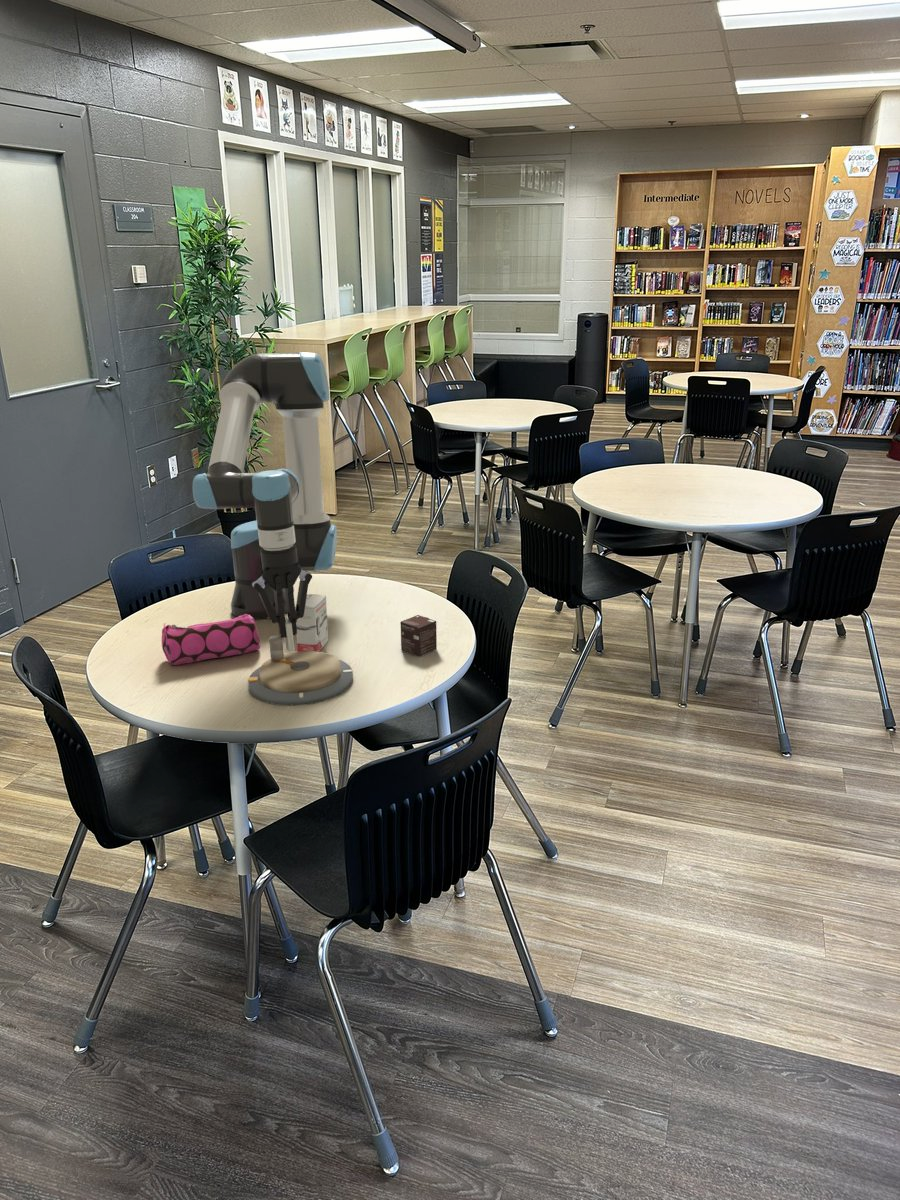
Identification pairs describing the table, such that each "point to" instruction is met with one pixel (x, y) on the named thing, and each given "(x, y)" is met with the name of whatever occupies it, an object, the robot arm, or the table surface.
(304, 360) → the robot arm
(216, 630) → the pencil case
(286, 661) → the dial
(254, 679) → the dial plate
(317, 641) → the ink box
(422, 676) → the table surface
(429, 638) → the box
